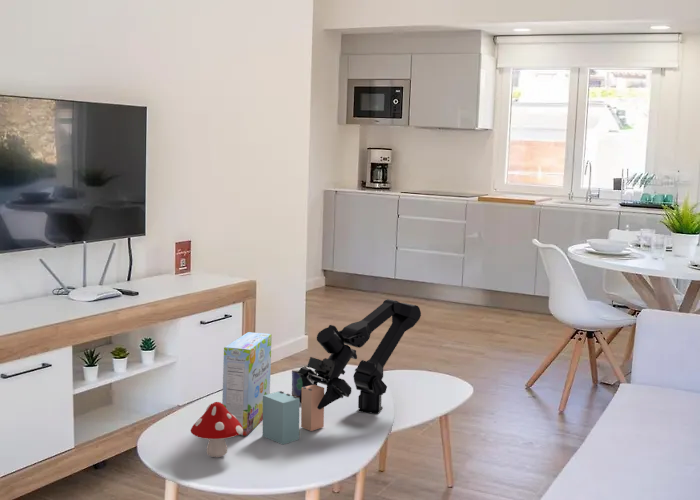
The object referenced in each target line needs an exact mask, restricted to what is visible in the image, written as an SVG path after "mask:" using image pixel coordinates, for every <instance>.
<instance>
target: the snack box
mask: <svg viewBox="0 0 700 500" xmlns="http://www.w3.org/2000/svg"><path fill="white" fill-rule="evenodd" d="M271 358H272V334H271V333H266V332H253V331H252V332H251V331H248V332H246V333H245V334H243V335H242V336H239V337H238V338H237V339H235V340H234V341H231V342H230V343H229V344H227V345H226V346H224V347H223V365H222V366H223V367H222V371H223V373H222V400H221V401H222V404H223V405H224V406H225V407H226V409H227V410H228V411H229V412H230V413H231V414H232V415H234V416H235V417H236V418H237V420H238V421H239V422H240V423H241V425H242V427H243V433H242V434H240V435H239V436H243V437H247V436H248V435H249V434H250V433H251V432H252V431H253V430H254V429H255V428H257V426H258V425H259V424H260V423H261V422H263V395H267V394H271V371H272V370H271V368H272V367H271V365H272V364H271V363H272V359H271Z"/></svg>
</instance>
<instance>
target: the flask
mask: <svg viewBox="0 0 700 500" xmlns="http://www.w3.org/2000/svg"><path fill="white" fill-rule="evenodd" d="M307 365H308V364H307ZM307 365H303V367H305V368H308V367H307ZM299 370H300V369H299V368H297V369H294V368H293V369H292V370H291V396H296V397H297V398H299V397H300V393H301V389H302V379H301V378H300V376H299V375H298V374H297V373H298V371H299ZM311 370H312V369H311ZM312 371H313V372H314V373H315V374H316V375H318V374H317V373H316V372H315V370H314V369H313V370H312ZM316 385H317V386H318V383H317V384H316Z"/></svg>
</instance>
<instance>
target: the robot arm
mask: <svg viewBox="0 0 700 500" xmlns="http://www.w3.org/2000/svg"><path fill="white" fill-rule="evenodd" d="M421 316H422V312H421V310H420V307H419V306H418V305H416V304H412V303H406V302H400V301H397V300H394V299H390V298H387V299H384V300H383V302H382V303H381V304H380V305H379V306H378V307H376V308H375V309H373V311H371V312H370V313H369V314H368V315H366V316H365V317H364V318H362V319H361V320H360V321H355V322H352V323H349V324H348V325H346V326H344V327H343V328H342V329H341V330H338V328H337V327H336V326H335V325H333V324H329V325H328V327H325V328H323V329H322V330H320V331H318V333H317V334H316V341H317V343H319V344H320V346H321V347H322V348H323V350H324V351H326V353H327V354H330V355H329V357H328V358H326V357H325V358H323V359H319V358H314V357H313V356H310V357H309V359H308V363H307V368H305V367H304V366H301V367H300V369H299V371H298V373H297V374H298V375H299V376H300V378H301V379H302V388H303V387H306V386H310V385H316V384H317V385H318V383H319V384H322V385H324V386H326V390H325V392H324V396H323V398H322V399H321V401H320V403H319V405H318V407H317V408H318V409H319V410H320V409H322V408H324V409H325V407H326V406H328V405H330V404H332V403H333V402H335V401H337V400H340V399H343V398H344V397H346V398H349V397H350V396H351V393H352V387H351V386H350V385H349V383H348V382H347V381H346V380H345V379H343V378H339V377H340V376H341V375H345V373H346V371H345V370H344V369H345V368H346V367H347V365H348V363H349V362H350V361H351V359H354V360H357V359H358V355H357V350H356V349H353V348H352V347H355V348H358V349H360V348H362V347H363V346H365V344H366V343H368V341H369V340H370V338H371V334H372V333H373V332H374V331H375V330H376V329H378V328H379V327H380V326H381V325H382V324H384V323H385V322H386V321H388V319H390V318H391V325H389V328H388V329H387V331H386V333H385V334H384V336H383V337H382V339H381V341H380V342H379V344H378V345H377V347H376V349H375V350H374V351H373V354H371V355H372V356H371V357H370V358H369V359H368V360H364V359H362V360H360V361H359V364H358V365H357V366H356V368H355V369H354V373H353V377H352V378H353V382H354V385H355V388H356V389H355V390H357V391H360V392H359V394H358V396H357V397H358V402H357V404H358V406H357V407H358V412H359V413H367V414H373V415H374V414H375V415H378V414H380V412H381V411H382V409H383V405H382V395H384V394H386V392H387V388H388V386H387V385H386V383H385V382H384V381H383V378H384V367H385V365H386V363H387V362H388V361H389V359H390V358H391V355H392V354H393V352H394V350H395V349H396V347H397V346H398V344H399V342H400V341H401V339H402V337H403V336H404V334H405V333H406V331H408V330H410V329H412V328H413V327H415V325H416V324H417V323H418V322H419V320H420V319H421ZM312 369H313V371H314V372H316V373H317V375H316V374H315V373H314V372H313V371H312ZM298 398H299V399H300V404H301V399H302V389H301V393H300V397H298Z"/></svg>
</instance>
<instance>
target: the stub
mask: <svg viewBox="0 0 700 500" xmlns="http://www.w3.org/2000/svg"><path fill="white" fill-rule="evenodd" d="M324 394H325V387H323V386H320V385H318V384H317V385H310V386H306V387H303V388H302V399H301V403H300V404H301V406H300V407H301V411H300V412H301V415H300V417H301V418H300V426H301V427H300V428H303V429H305V430H308V431H310V432H313V431H316V430H319V429H322V428H324V427H325V426H324V424H325V422H324V421H325V407H324V408H322V409H320V410H319V409H318V408H317V407H318V405H319V403H320V401H321V399H322V398H323V396H324Z"/></svg>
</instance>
